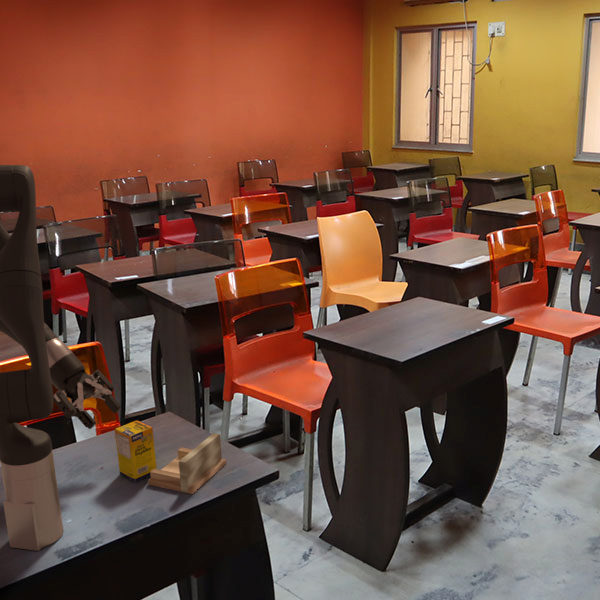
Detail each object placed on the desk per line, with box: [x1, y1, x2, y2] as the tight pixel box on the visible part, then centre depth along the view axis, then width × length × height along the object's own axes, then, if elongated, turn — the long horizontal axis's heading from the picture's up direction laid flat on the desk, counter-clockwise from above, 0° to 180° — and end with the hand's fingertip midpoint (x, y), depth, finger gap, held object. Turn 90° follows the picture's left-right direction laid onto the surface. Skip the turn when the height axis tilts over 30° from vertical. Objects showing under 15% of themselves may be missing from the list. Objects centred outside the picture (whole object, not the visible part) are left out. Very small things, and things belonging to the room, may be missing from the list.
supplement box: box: [114, 420, 158, 483], centre depth 165 cm, size 6×6×11 cm
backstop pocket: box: [147, 432, 227, 495], centre depth 164 cm, size 14×11×7 cm
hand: (105, 418), depth 166 cm, fingers open, 8 cm apart
